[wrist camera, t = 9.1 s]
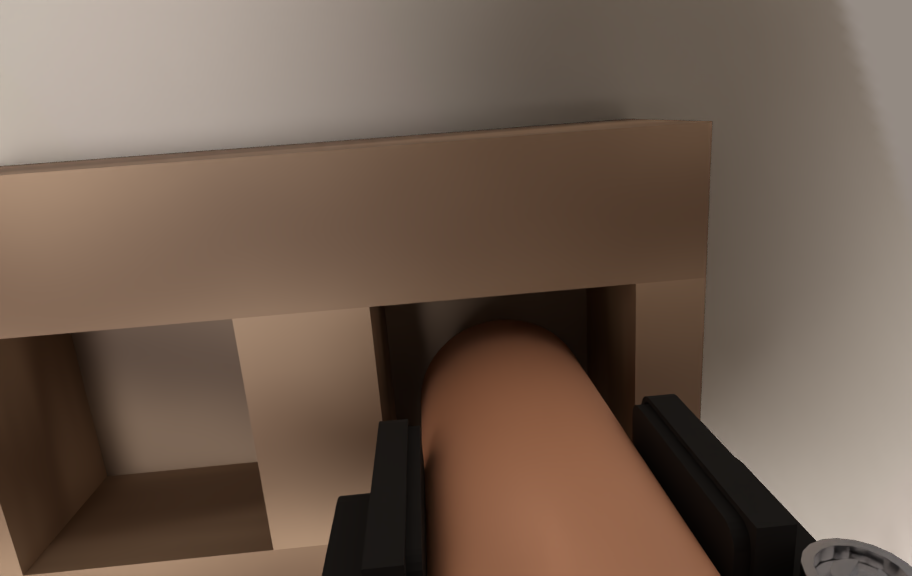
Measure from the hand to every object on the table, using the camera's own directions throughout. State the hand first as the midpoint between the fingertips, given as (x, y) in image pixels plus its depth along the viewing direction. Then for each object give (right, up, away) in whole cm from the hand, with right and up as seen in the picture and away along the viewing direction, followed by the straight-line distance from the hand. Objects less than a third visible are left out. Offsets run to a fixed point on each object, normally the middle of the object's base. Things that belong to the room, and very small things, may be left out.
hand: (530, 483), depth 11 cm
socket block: (-5, +2, +7) cm, 9 cm away
